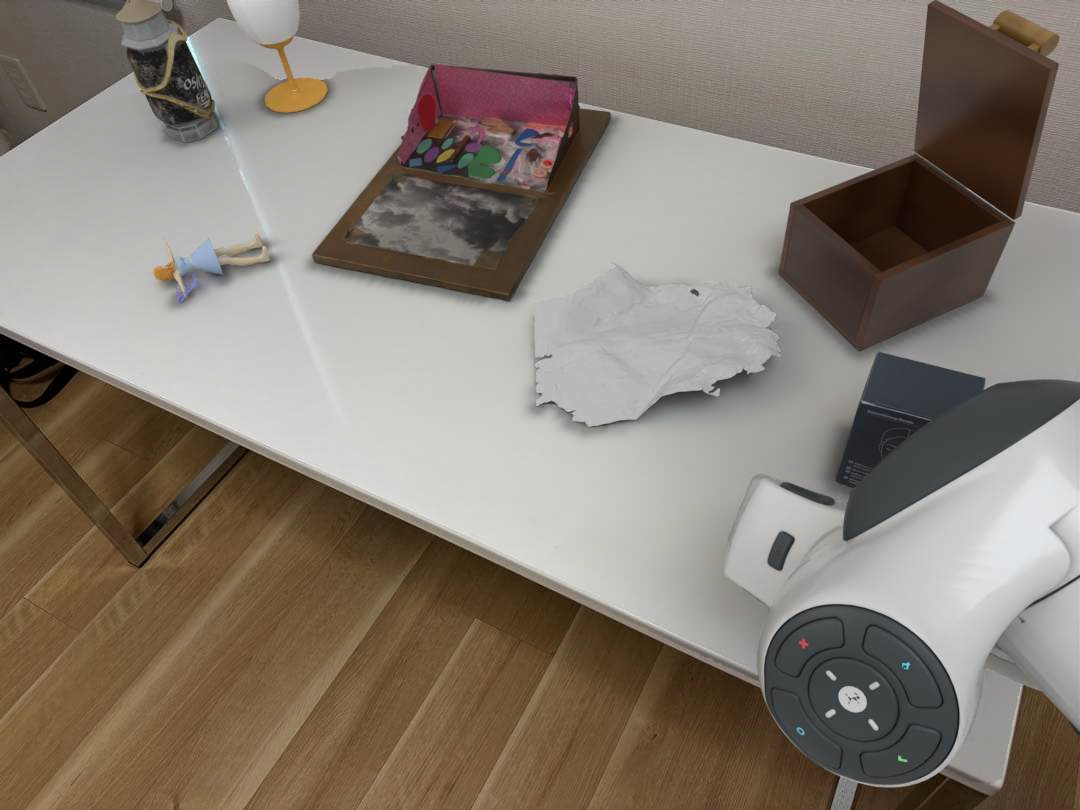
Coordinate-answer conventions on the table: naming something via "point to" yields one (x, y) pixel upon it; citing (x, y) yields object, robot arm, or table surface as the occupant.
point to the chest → (891, 249)
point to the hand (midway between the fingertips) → (903, 548)
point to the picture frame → (470, 181)
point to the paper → (644, 344)
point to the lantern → (167, 71)
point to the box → (898, 409)
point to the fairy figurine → (207, 262)
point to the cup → (278, 49)
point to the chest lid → (985, 101)
